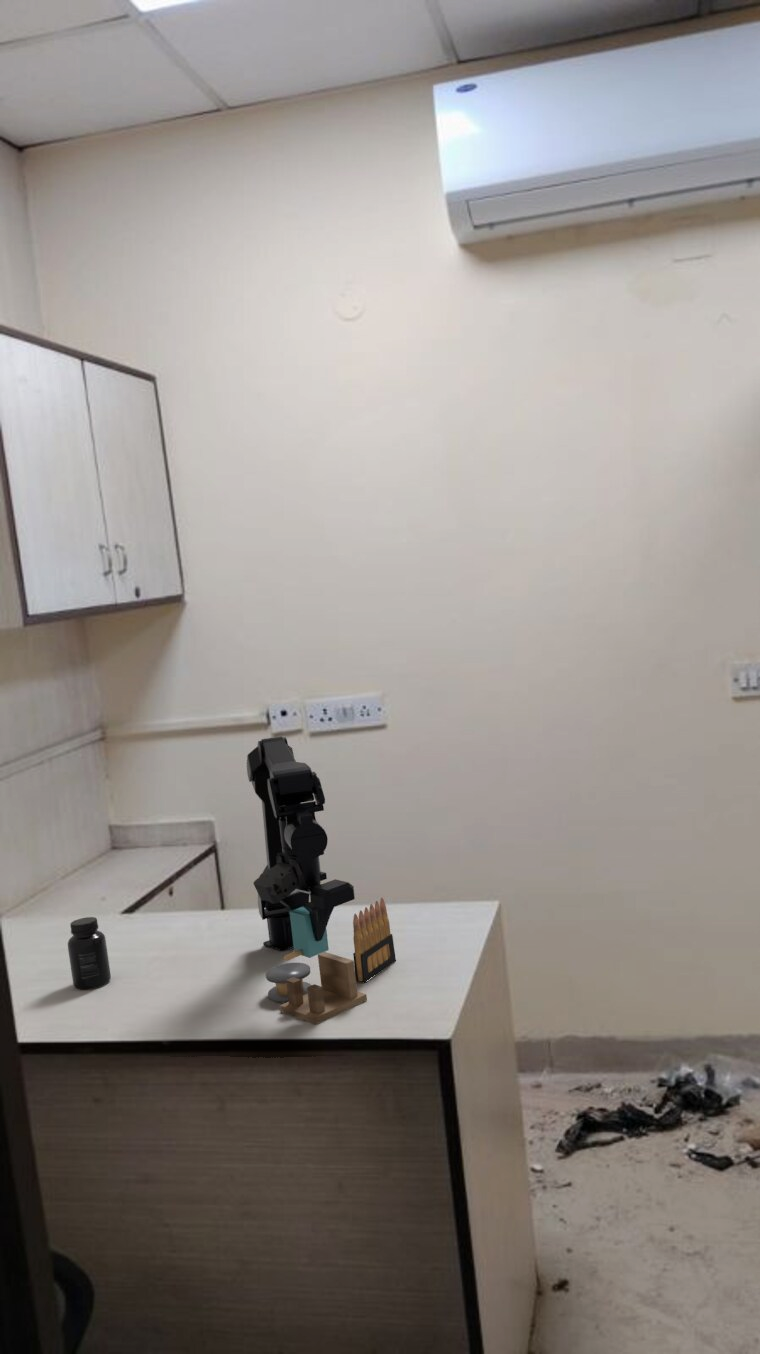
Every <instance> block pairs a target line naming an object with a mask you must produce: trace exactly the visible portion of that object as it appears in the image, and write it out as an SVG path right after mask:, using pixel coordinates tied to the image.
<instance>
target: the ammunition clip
mask: <svg viewBox="0 0 760 1354" xmlns="http://www.w3.org/2000/svg"><path fill="white" fill-rule="evenodd" d="M369 905H370V906H369V908H368V907H367V906H366V907H365V908H364V911H362V909H361V910H359V914H358V915H357V913H354V915H353V921H352V927H353V947H354V953H353V954H352V955H353V960H354V968H355V977H356V983H361V982H364V983H363V984H366V983H367V982H368V981H367V980H369V979H370V978H371V977H373V976H374V975H376V974H377V975H379V974H380V973H381V972H383V971H385V969H387V968H388V967H390V966H391V965H393V964H394V963H396V961H397V959H396V953H395V952H396V951H395V943H394V936H393V933H391V925H390V919H389V915H388V913H387V912H388V911H387V905H386V902H385V899H384V898H383V897H380V901H378V900H375V903H374V905H373V904H372V903H371V904H369ZM382 970H383V971H382ZM379 972H380V973H379ZM378 973H379V974H378ZM377 975H376V976H377ZM374 977H375V976H374ZM374 977H373V978H374ZM370 980H371V979H370ZM370 980H369V981H370ZM366 981H367V982H366ZM365 982H366V983H365Z"/></svg>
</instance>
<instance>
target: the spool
mask: <svg viewBox="0 0 760 1354" xmlns="http://www.w3.org/2000/svg"><path fill="white" fill-rule="evenodd" d="M310 974H311V967H310V965H309V964H307V963H303V962H286V963H282V964H279V965H275V966H273V967H271V968H269V969H267V970H266V972H265V979H266V981H267V982H269V983H274V984H275V986H273V987H271V989H269V991H268V993H267V994H268V995H267V997H268V1000H269V1001H271V1002H273V1003H277V1002H278V1004H284V1003H287V1002H289V1000H288V991H287V983H286V980H288V979H290V978H292V977H294V978H297V979H300V980H301V985H302V993H303V995H305V994H307V993H308V991H307V987H309V986H311V985H312V984H311V983H308V982H306V981H304V980H303V979H305V978H307V977H308V976H309V975H310Z"/></svg>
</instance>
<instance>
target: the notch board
mask: <svg viewBox="0 0 760 1354" xmlns="http://www.w3.org/2000/svg"><path fill="white" fill-rule="evenodd" d="M317 959H318V960H317V961H318V967H319V976H320V985H321V986H320V985H318V984H311V986H309V987H307V991H308V993H307V994H305V995H303V993H302V985H301V980H300V979H297V978H294V977H292V978H290V979H288V980H286V983H287V991H288V1000H289V1002H287V1003H281V1004H280V1005H279V1007H280V1012H282V1013H285V1014H287V1015H290V1016H292V1017H295V1018H298V1019H300V1020H303V1021H305V1022H309V1023H310V1024H314V1025H317V1024H319V1023H322V1022H324V1021H326V1020H328V1019H330V1018H332V1017H334V1016H337V1015H339V1014H341V1013H342V1012H345V1011H347V1010H349V1009H351V1008H354V1007H356V1006H357V1004H358V1005H360V1004H362V1003H364V1002H366V1001H367V1000H368V997H367V993H364V992H361V991H358V988H357V987H358V986H357V982H356V977H355V967H354V959H349V958H346V957H343V956H341V955H340V956H339V955H337V954H333V953H329V952H328V951H325V952H323V953H320V954H318V955H317ZM365 1000H366V1001H365ZM363 1001H364V1002H363ZM361 1002H362V1003H361ZM359 1003H360V1004H359ZM355 1005H356V1006H355Z"/></svg>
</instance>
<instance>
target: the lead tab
mask: <svg viewBox="0 0 760 1354" xmlns="http://www.w3.org/2000/svg"><path fill="white" fill-rule="evenodd" d="M289 912H290V920H291V928H292V937H293V945H294V947H293V951H292V952H290V953H287V954H286V955H283V960H284V961H287V962H288V961H290V960H293V959H295V958H297V957H300V956H303V957H306V958H308V959H311V958H313V957H315V956H318V954H321V953H323V952H328V951H329V949H330V948H329V940H328V932H327V929H326V930H325V932H324V935H323V938H322V940H320V941H318V942H317V941H315V937H314V934H313V929H312V924H311V918H310V913H309V911H307V910H306V909H305V908H304V907H300V908H297V909H295V910H292V911H289Z"/></svg>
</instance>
